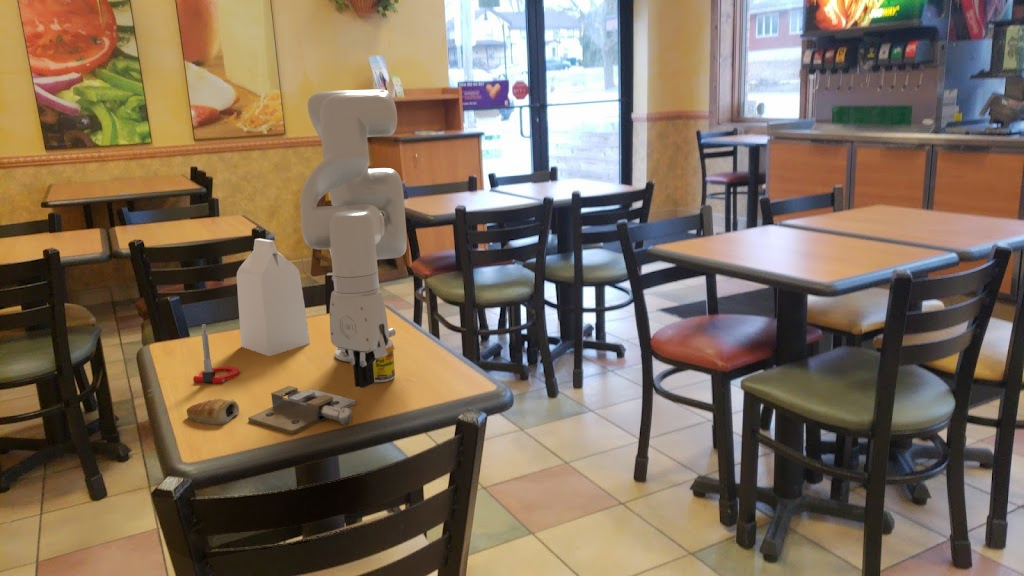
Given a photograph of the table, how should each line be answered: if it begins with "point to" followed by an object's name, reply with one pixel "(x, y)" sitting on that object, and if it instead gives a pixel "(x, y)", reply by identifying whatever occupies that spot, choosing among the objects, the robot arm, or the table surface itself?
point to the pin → (334, 413)
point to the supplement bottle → (384, 365)
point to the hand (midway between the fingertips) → (364, 384)
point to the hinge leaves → (297, 409)
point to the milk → (270, 302)
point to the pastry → (213, 411)
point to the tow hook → (209, 372)
